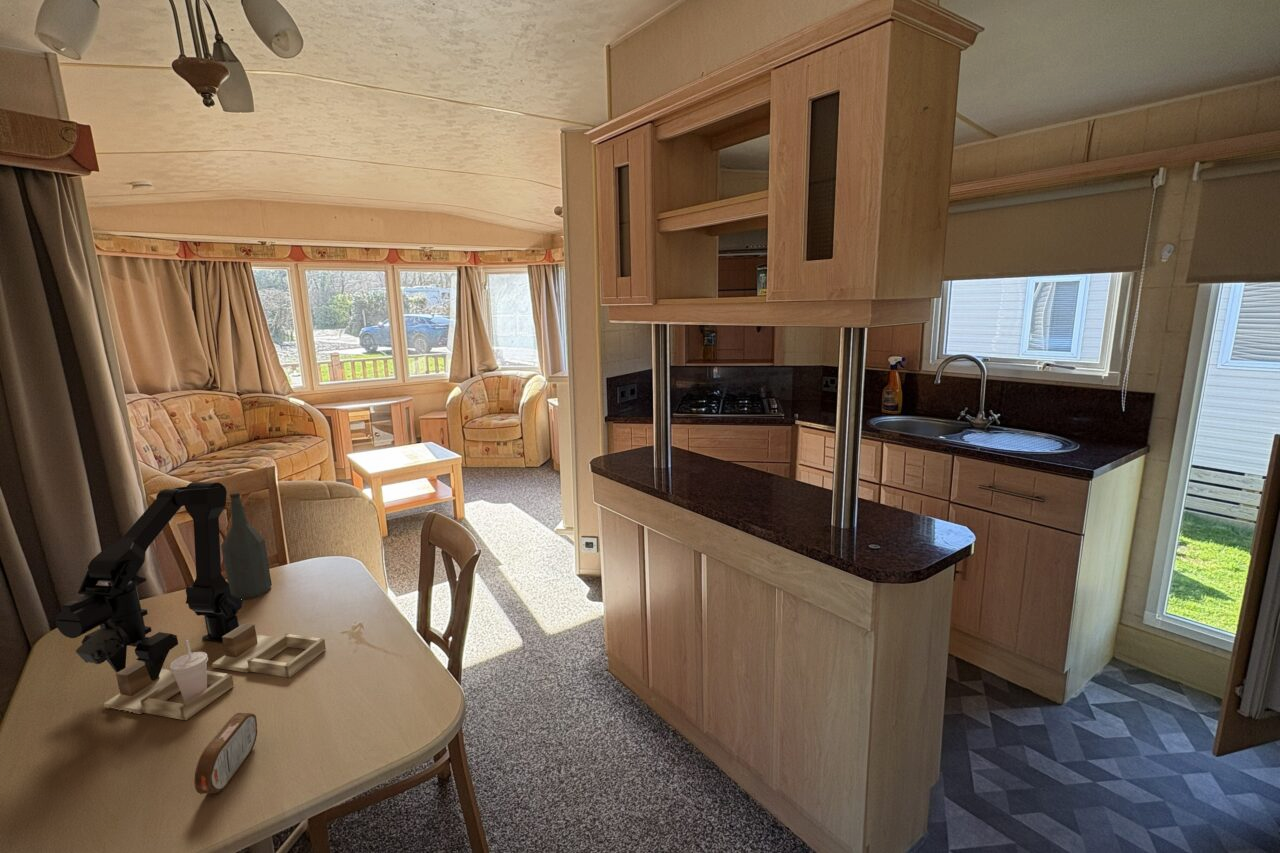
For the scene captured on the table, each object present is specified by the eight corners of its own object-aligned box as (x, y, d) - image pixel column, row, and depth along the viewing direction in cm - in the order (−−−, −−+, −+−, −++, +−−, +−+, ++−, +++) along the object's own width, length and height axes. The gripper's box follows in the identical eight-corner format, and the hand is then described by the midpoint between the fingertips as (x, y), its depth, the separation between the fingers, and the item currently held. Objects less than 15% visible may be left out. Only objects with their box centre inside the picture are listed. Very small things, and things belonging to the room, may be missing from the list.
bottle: (226, 592, 172) (208, 493, 165) (265, 580, 179) (249, 484, 172) (236, 604, 165) (218, 501, 158) (276, 591, 172) (260, 492, 165)
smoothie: (222, 691, 128) (211, 633, 125) (199, 712, 122) (186, 651, 119) (194, 690, 129) (182, 632, 126) (169, 710, 123) (156, 650, 120)
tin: (246, 740, 114) (239, 702, 112) (264, 739, 114) (257, 701, 113) (196, 806, 99) (187, 763, 98) (216, 805, 100) (207, 762, 98)
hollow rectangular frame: (212, 667, 137) (208, 643, 135) (256, 638, 148) (252, 616, 147) (288, 678, 132) (284, 654, 131) (327, 648, 143) (324, 625, 142)
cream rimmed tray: (104, 707, 124) (98, 682, 122) (161, 672, 135) (156, 648, 134) (183, 722, 119) (178, 695, 118) (235, 684, 130) (231, 660, 129)
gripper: (44, 626, 119) (62, 695, 123) (117, 637, 115) (133, 707, 118) (104, 599, 130) (119, 662, 133) (173, 608, 126) (186, 673, 129)
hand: (138, 676), depth 128 cm, fingers open, 9 cm apart
